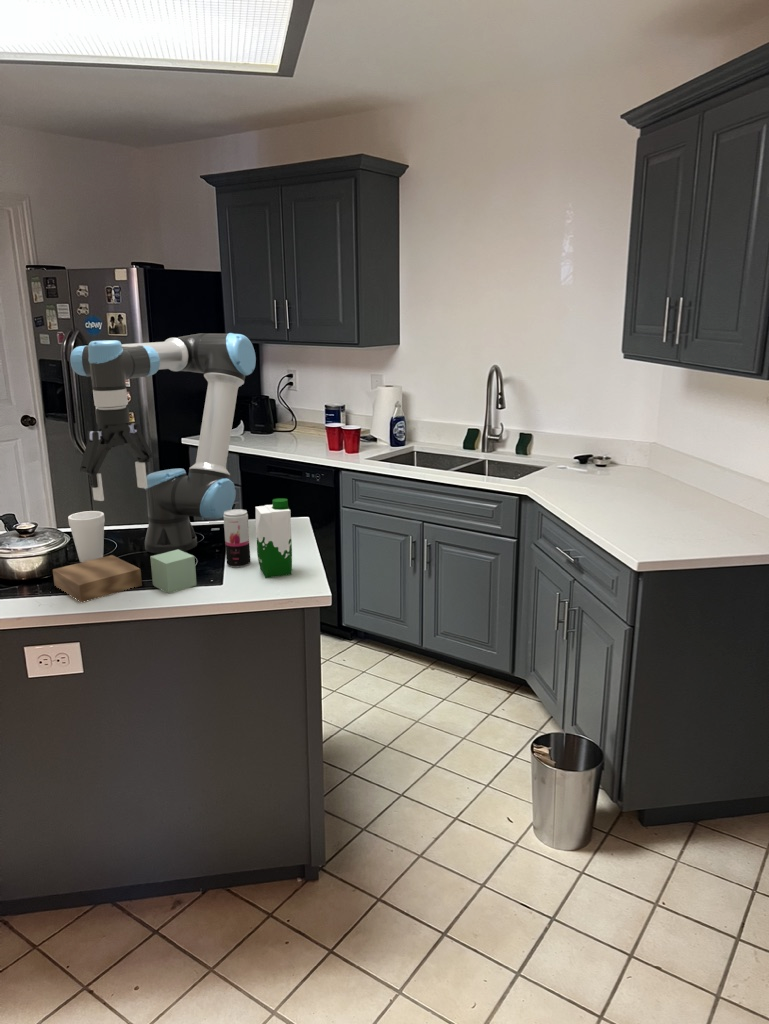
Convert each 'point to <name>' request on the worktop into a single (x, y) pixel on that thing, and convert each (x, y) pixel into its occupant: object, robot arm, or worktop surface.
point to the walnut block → (97, 578)
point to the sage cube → (173, 571)
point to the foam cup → (88, 534)
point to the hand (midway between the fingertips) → (121, 493)
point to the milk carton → (274, 538)
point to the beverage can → (237, 538)
